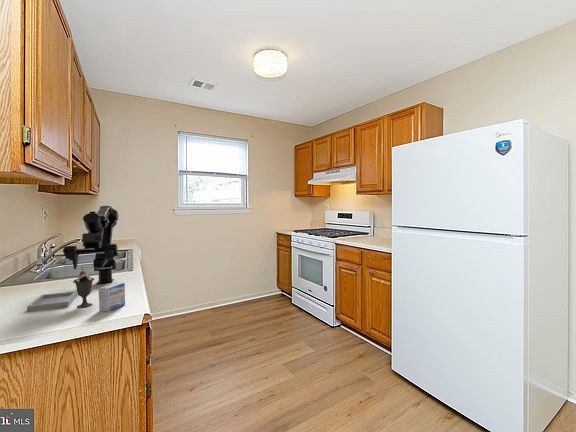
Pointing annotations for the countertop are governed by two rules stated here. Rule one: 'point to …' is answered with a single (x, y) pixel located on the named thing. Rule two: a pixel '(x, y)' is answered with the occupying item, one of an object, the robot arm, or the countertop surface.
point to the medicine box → (111, 297)
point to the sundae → (83, 287)
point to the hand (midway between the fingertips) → (88, 267)
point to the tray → (52, 301)
